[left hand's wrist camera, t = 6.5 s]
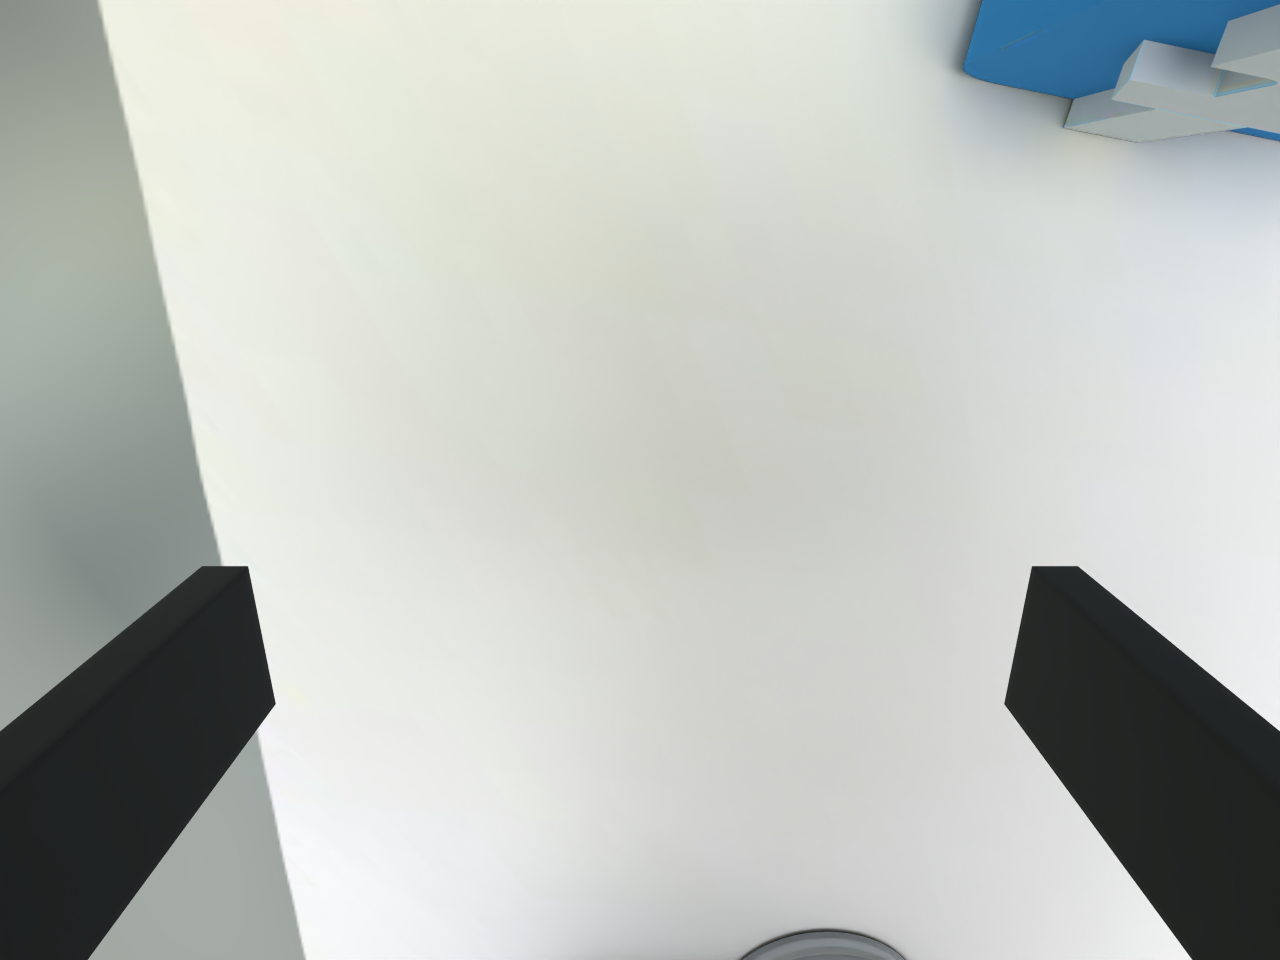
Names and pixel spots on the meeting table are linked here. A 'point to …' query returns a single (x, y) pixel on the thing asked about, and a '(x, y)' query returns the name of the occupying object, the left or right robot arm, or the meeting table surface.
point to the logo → (1139, 62)
